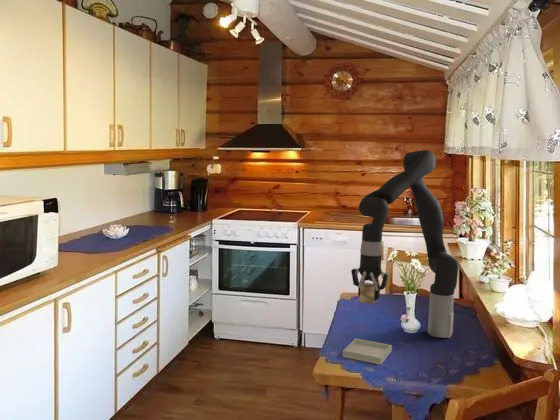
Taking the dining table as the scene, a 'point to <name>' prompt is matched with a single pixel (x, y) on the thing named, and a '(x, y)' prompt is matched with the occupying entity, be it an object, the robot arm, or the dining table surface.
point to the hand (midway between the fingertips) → (368, 298)
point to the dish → (367, 351)
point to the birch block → (367, 293)
